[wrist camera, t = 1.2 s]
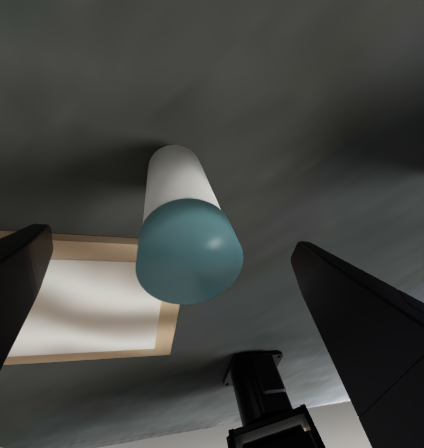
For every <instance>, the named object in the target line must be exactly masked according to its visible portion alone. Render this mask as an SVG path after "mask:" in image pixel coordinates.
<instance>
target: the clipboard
mask: <svg viewBox="0 0 424 448" xmlns="http://www.w3.org/2000/svg"><path fill="white" fill-rule="evenodd" d="M14 232H16V231H2V230H0V238H2V237H5V236H7V235H9V234H12V233H14ZM138 239H139V238H124V237H106V236H89V235H71V234H54V233H52V240H53V253H52V256H51V259H50V262H49V265H48V268H47V271H46V274H45V277H44V280H43V282H42V285H41V288H40V291H39V293H38V296H37V298H36V300H35V302H34V304H33V306H32V308H31V310H30V312H29V314H28V316H27V318H26V320H25V322H24V324H23V326H22V328H21V330H20V332H19V334H18V336H17V338H16V340H15V342H14V344H13V346H12V348H11V350H10V352H9V354H8V356H7V358H6V360H5V362H4V364H3V365H11V364H27V363H43V362H59V361H75V360H92V359H108V358H124V357H140V356H156V355H170V352H171V347H172V342H173V337H174V332H175V327H176V322H177V316H178V311H179V306H180V304H171V303H167V302H164V301H161V300H158V299H156V298H154V297H153V296H151V295H150V294H148V293H147V292H146V291H145V290H144V289H143V288H142V286H141V285H140V283H139V281H138V279H137V276H136V257H137V248H138Z"/></svg>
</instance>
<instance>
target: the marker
mask: <svg viewBox="0 0 424 448" xmlns="http://www.w3.org/2000/svg"><path fill="white" fill-rule="evenodd" d="M242 266H243V251H242V248H241V246H240V243H239V241H238V239H237V237H236V235H235V233H234V230H233V228H232V226H231V224H230V222H229V220H228V218H227V216H226V215H225V214H224V213H223V211H222V210H221V209H220V207H219V204H218V202H217V200H216V198H215V195H214V193H213V191H212V189H211V186H210V184H209V182H208V180H207V178H206V175H205V173H204V171H203V169H202V166H201V164H200V162H199V160H198V158H197V156H196V155H195V154H194V153H193V152H192V151H191V150H190V149H188V148H186V147H184V146H181V145H167V146H164V147H162V148H160V149H159V150H157V151H156V152H155V153H154V154H153V156H152V157H151V159H150V161H149V165H148V175H147V185H146V196H145V207H144V218H143V224H142V226H141V229H140V232H139V239H138V248H137V257H136V276H137V279H138V281H139V283H140V285H141V286H142V288H143V289H144V290H145V291H146V292H147V293H148V294H150V295H151V296H153V297H154V298H156V299H158V300H161V301H164V302H167V303H171V304H182V305H185V304H195V303H200V302H204V301H207V300H210V299H212V298H214V297H216V296H218V295H220V294H221V293H223V292H224V291H225V290H227V289H228V288H229V287H230V286H231V285H232V284H233V283H234V282H235V280H236V279H237V277H238V276H239V274H240V272H241V269H242Z"/></svg>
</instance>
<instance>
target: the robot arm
mask: <svg viewBox="0 0 424 448" xmlns="http://www.w3.org/2000/svg"><path fill="white" fill-rule="evenodd" d="M52 253H53V240H52V233H51V228H50V226H49V225H46V224H32V225H30V226H28V227H25V228H23V229H21V230H19V231H16V232H14V233H12V234H9V235H7V236H5V237H2V238H0V370H1V368H2V366H3V364H4V362H5V360H6V358H7V356H8V354H9V352H10V350H11V348H12V346H13V344H14V342H15V340H16V338H17V336H18V334H19V332H20V330H21V328H22V326H23V324H24V322H25V320H26V318H27V316H28V314H29V312H30V310H31V308H32V306H33V304H34V302H35V300H36V298H37V296H38V293H39V291H40V288H41V285H42V282H43V280H44V277H45V274H46V271H47V268H48V265H49V262H50V259H51V256H52ZM291 264H292V267H293V270H294V273H295V276H296V279H297V281H298V284H299V287H300V290H301V293H302V295H303V298H304V300H305V302H306V304H307V307H308V309H309V311H310V313H311V315H312V317H313V320H314V322H315V324H316V326H317V328H318V330H319V333H320V335H321V337H322V339H323V341H324V343H325V346H326V348H327V350H328V352H329V354H330V356H331V359H332V361H333V363H334V365H335V367H336V369H337V372H338V374H339V376H340V378H341V380H342V382H343V385H344V387H345V389H346V391H347V393H348V395H349V398H350V400H351V402H352V404H353V406H354V408H355V410H356V412H357V415H358V416H359V420H360V422H361V424H362V426H363V428H364V431H365V433H366V435H367V437H368V439H369V441H370V443H371V446H372V448H424V303H423V302H421V301H419V300H417V299H415V298H413V297H411V296H409V295H408V294H406V293H404V292H402V291H400V290H397V289H396V288H394V287H393V286H391V285H389V284H387V283H385V282H383V281H381V280H379V279H378V278H376V277H374V276H372V275H370V274H368V273H366V272H365V271H363V270H361V269H359V268H357V267H355V266H353V265H351V264H350V263H348V262H346V261H344V260H342V259H340V258H338V257H336V256H335V255H333V254H331V253H329V252H327V251H325V250H323V249H322V248H320V247H318V246H316V245H314V244H312V243H310V242H305V241H300V242H298V243H297V245H296V247H295V250H294V252H293V254H292V256H291ZM282 357H283V354H282V352H281V351H276V352H261V353H246V354H236V355H234V356H233V358H232V360H231V363H230V365H229V368H228V370H227V373H226V375H225V377H224V380H223V385H224V386H233V387H234V392H235V396H236V400H237V404H238V408H239V412H240V417H241V421H242V425H243V427H240V428H237V429H231V430H229V436H228V437H227V443H228V448H325V445H324V443H323V441H322V439H321V437H320V435H319V433H318V431H317V429H316V427H315V425H314V423H313V421H312V418H311V416H310V414H309V412H308V410H307V408H306V406H305V404H303V405H300V407H297V408H295V409H293V408H292V405H291V403H290V400H289V398H288V395H287V393H286V389H285V386H284V384H283V381H282V379H281V376H280V374H279V371H278V369H277V366H278V364H279V362H280V360H281V359H282ZM303 428H306V430H307V431H304V429H303Z"/></svg>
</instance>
